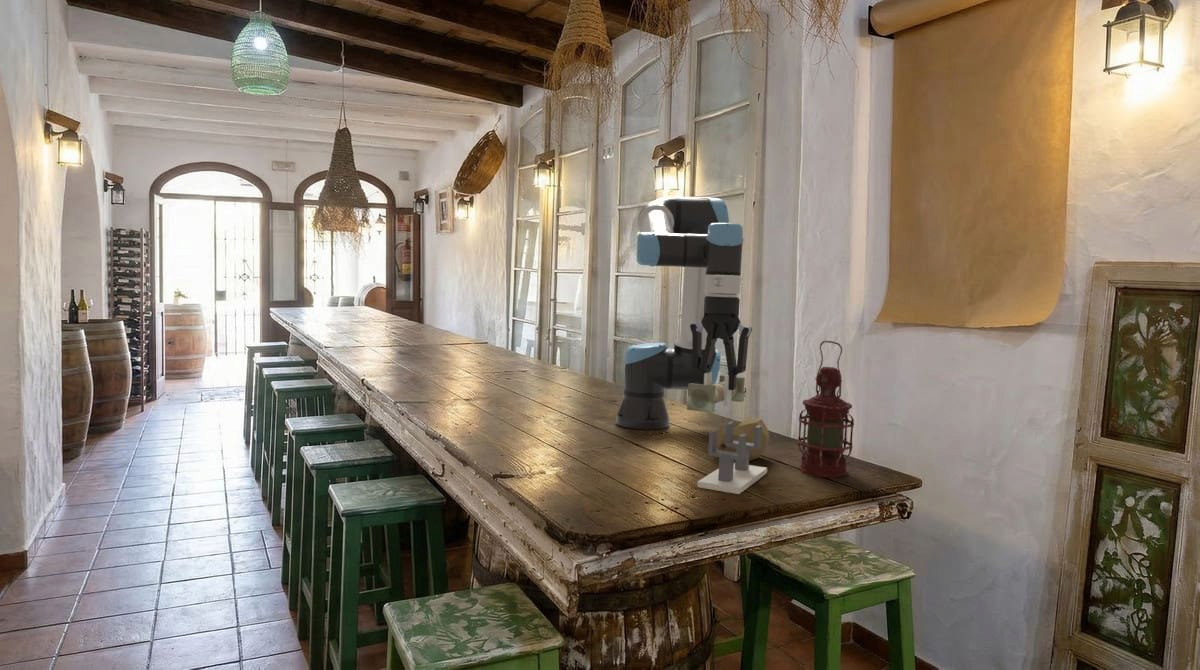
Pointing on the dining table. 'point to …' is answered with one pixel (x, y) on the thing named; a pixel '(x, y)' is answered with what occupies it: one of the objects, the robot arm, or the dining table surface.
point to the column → (712, 394)
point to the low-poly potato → (748, 429)
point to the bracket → (730, 473)
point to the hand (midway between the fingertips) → (716, 403)
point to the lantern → (826, 426)
